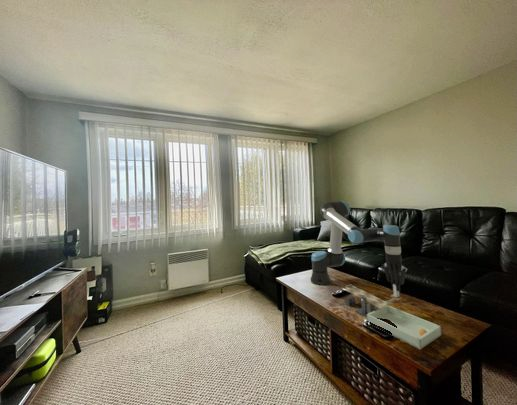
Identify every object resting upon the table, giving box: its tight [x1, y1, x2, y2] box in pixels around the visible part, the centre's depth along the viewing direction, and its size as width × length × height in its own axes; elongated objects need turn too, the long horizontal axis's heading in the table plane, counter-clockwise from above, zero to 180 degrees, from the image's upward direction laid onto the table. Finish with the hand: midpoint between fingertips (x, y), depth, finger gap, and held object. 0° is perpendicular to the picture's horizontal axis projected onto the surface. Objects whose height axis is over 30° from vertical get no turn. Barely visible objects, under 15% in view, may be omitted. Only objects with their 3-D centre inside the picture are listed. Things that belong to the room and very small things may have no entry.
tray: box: [365, 304, 442, 350], centre depth 100 cm, size 24×18×4 cm
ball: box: [419, 329, 427, 336], centre depth 92 cm, size 3×3×3 cm
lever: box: [345, 284, 403, 309], centre depth 120 cm, size 22×18×3 cm
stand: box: [345, 293, 377, 318], centre depth 119 cm, size 18×10×9 cm, turn 27°
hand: (396, 296), depth 114 cm, fingers closed
